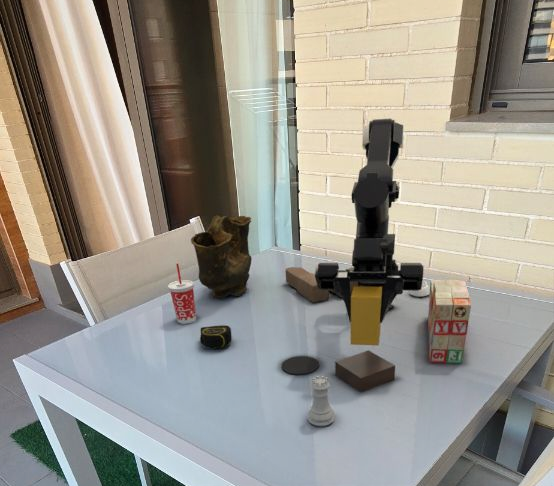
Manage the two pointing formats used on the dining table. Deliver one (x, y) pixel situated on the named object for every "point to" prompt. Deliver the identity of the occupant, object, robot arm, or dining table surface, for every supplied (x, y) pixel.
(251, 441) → the dining table surface
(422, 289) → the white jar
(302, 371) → the rubber mat
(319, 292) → the wooden block set
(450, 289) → the stack of blocks
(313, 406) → the rook chess piece
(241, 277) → the pottery vessel
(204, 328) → the tape measure
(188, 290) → the beverage cup
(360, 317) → the ochre block
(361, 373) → the walnut block
